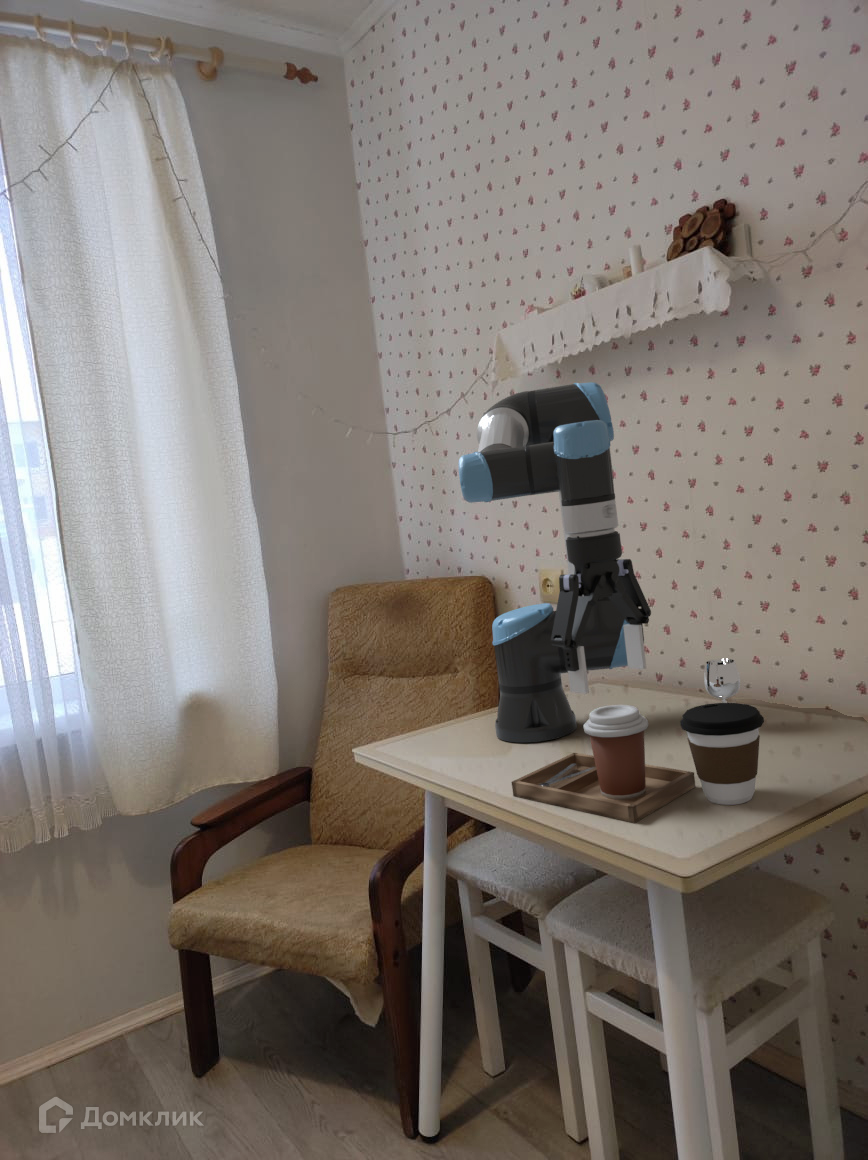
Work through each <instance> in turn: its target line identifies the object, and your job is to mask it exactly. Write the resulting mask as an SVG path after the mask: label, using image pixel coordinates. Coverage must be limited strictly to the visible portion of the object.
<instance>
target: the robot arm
mask: <svg viewBox="0 0 868 1160" xmlns="http://www.w3.org/2000/svg"><path fill="white" fill-rule="evenodd" d="M611 416H612V415H611V412H610V408H609V404H608V401H607V397H606V395H605V393H604V390H603V388H602V386H601V385H599V384H598V383H596V382H591V381H590V382H580V383H578V382H574V383H573V384H567V385H560V386H552V387H546V388H539V389H535V390H525V391H521V392H517V393H514V394H511V395H509V396H507V397H504V398H502V399H501V400H499V401H498V402H496V403H495V404H493V405H492V406H491V407H489V408H488V409H487V410H486V411H485V412H483V415H482V416H481V417H480V419H479V422H478V425H477V428H476V438H477V443H478V449H477V451H474V452H472V453H468V454H467V453H466V454H463V455H461V456H460V457H459V459H458V475H459V476H458V477H459V484H460V489H461V495H462V496H463V499H464V500H465V501H466V502H468V503H471V504H472V503H483V502H484V503H490V502H493V501H498V500H507V499H514V498H519V497H527V496H534V495H543V494H550V493H551V494H552V493H558V497H559V498H558V499H559V506H560V507H559V508H560V513H561V520H562V521H561V523H562V528H563V531H562V532H563V538H564V547H565V553H566V563H567V569H568V570H567V571H568V574H560V575H559V577H558V583H559V585H558V586H559V593H558V599H557V603H556V604H557V605H556V609H555V610H554V607H553V606H552V605H553V604H551V603H549V602H543V603H538V604H537V603H536V604H532V605H527V606H526V605H525V606H524V607H519V608H516V609H513V610H509V611H506V612H504V613H502V614H500V615H499V616H497V617H496V618H495V619H494V620H493V621H492V625H491V627H492V628H491V630H492V646H494V655H495V661H496V663H495V664H496V669H497V677H498V686H499V694H500V696H499V701H498V706H497V713H496V714H497V717H496V719H495V722H494V727H495V735H496V737H497V738H498V739H499V740H501V741H505V742H510V743H519V744H520V743H523V744H524V743H537V742H546V741H551V740H554V739H555V740H556V739H558V738H563V737H565V736H568V735H570V734H571V733H573V732H575V730H577V720H576V719H577V717H576V714H575V712H574V710H572V708H571V705H570V703H569V700H568V698H567V696H566V693H565V690H564V688H563V683H562V674H567V675H568V684H569V693H572V694H573V693H575V694H582V695H587V694H589V693H590V689H589V678H588V672H589V671H598V670H608V669H609V670H612V669H614V668H615V669H617V668H623V667H627V668H628V669H636V670H637V669H638V670H645V669H647V662H646V661H647V660H646V653H645V645H644V644H645V636H644V627H643V624H646V625H647V624H648V623H649V622H650V618H649V617H651V615H652V611H651V608H650V605H649V603H648V601H647V599H646V597H645V595H644V592H643V591H642V588H641V586H640V583H639V581H638V579H637V577H636V574H635V572H634V564H633V561H632V560H631V559H630V558H625V559H624V558H621V557H622V554H623V551H622V542H621V534H620V532H619V531H616V530H615V529H617V528H618V526H619V520H618V518H619V517H618V511H617V505H616V504H617V503H616V494H615V488H614V485H615V484H614V475H613V473H614V472H613V465H612V457H611V455H612V454H611V442H612V441H613V440H615V439H614V437H615V434H614V427H613V422H612V417H611ZM619 558H621V559H619Z"/></svg>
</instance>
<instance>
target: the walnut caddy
mask: <svg viewBox="0 0 868 1160" xmlns="http://www.w3.org/2000/svg"><path fill="white" fill-rule="evenodd" d="M571 764H577V771H575V772H574V773H573V774H575V773H578V772H580V771H583V770H586V769H589V768H592V767H595V768H593V769H591V770H589V771H587V772H585V773H583V774H581V775H579V776H577V777H575V778H573V779H571V780H569V781H567V782H565V783H563V784H561V785H559V786H557V787H555V788H550V787H546V786H541V785H539V784H541V783H545V782H547V781H548V780H550V779H551V778H552V777H554V776H555V775H557V774H558V773H559V772H561V771H562V770H564V769H565V768H566V767H568V766H569V765H571ZM571 775H572V774H571ZM645 779H646V792H645V794H643V795H641V796H640V797H636V798H633V799H626V800H613V799H608V798H606V797H604V796H602V794H601V789H600V784H599V779H598V774H597V770H596V765H595V760H594V755H591V754H584V753H578V752H573V753H570V754H568V755H567V756H564V757H562V758H560V759H558V760H556V761H553V762H551V763H549V764H546V765H545V766H543V767H540V768H539V769H537V770H534V771H532V772H530V773H528V774H525V775H523V776H521V777H519V778H517V779H514V780H513V781H511V789H512V796H513V797H517V798H521V799H525V800H529V801H535V802H540V803H543V804H548V805H553V806H557V807H561V808H565V809H570V810H574V811H578V812H584V813H588V814H591V815H592V814H593V815H597V816H602V817H606V818H610V819H614V820H620V821H623V822H629V823H633V824H635V823H637V822H639V821H641V820H642V819H644V818H645V817H647V816H649V815H650V814H652V813H654V812H655V811H657V810H659V809H661V808H663V807H664V806H666V805H667V804H669V803H672V802H673V801H674V800H676V799H678V798H679V797H681V796H683V795H684V794H686V793H688V792H690V791H691V790H693V789H695V788H696V777H695V772H694V771H688V770H684V769H683V770H681V769H675V768H670V767H664V766H658V765H652V764H651V765H650V764H646V763H645Z"/></svg>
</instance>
